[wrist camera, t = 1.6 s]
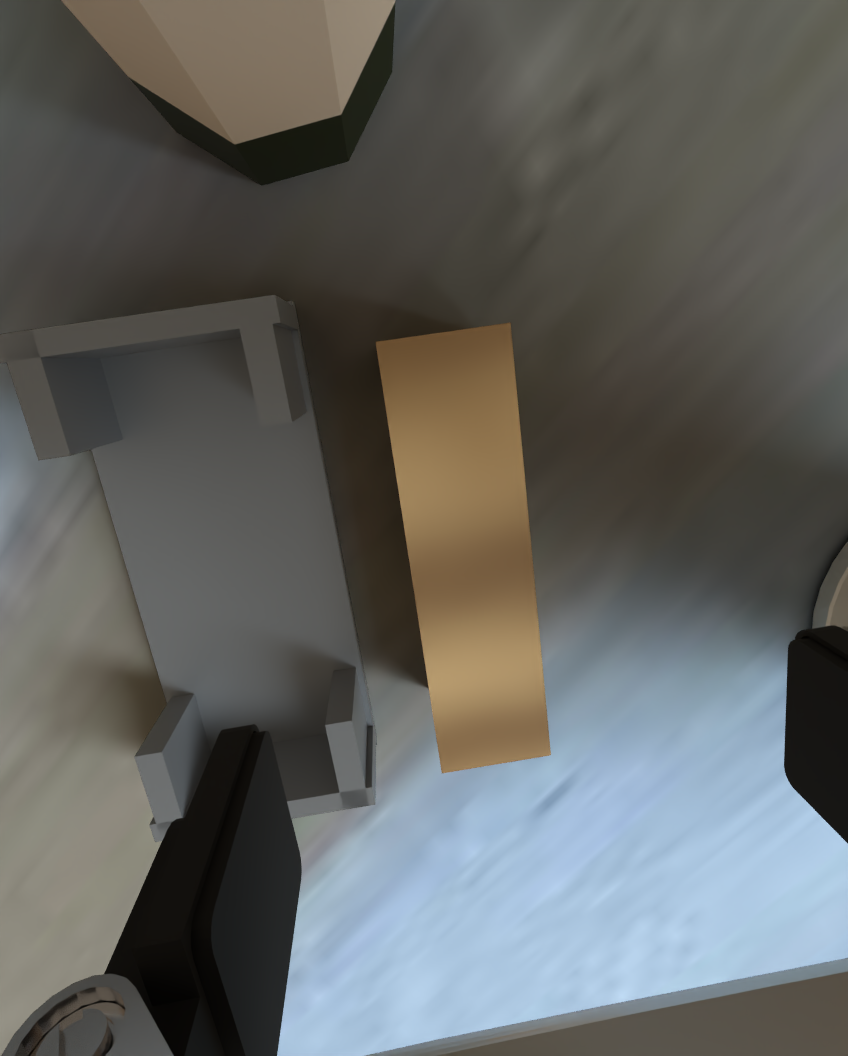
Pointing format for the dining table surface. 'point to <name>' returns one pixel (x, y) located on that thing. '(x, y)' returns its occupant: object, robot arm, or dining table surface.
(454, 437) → the slat
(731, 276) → the dining table surface
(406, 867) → the dining table surface
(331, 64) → the wine bottle
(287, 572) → the end-cap rail
